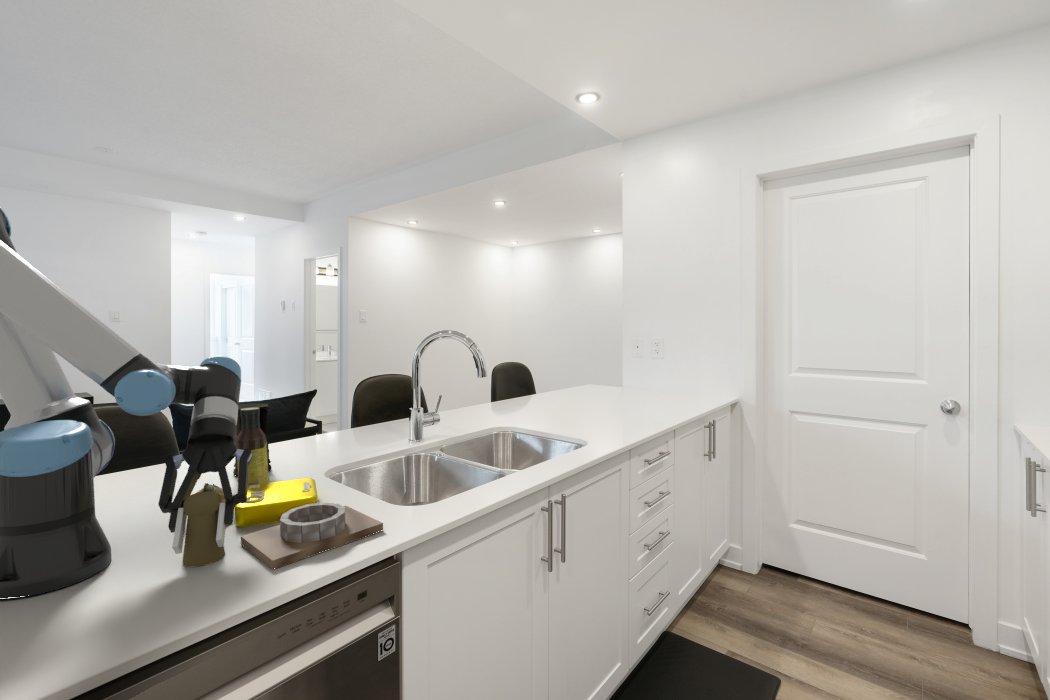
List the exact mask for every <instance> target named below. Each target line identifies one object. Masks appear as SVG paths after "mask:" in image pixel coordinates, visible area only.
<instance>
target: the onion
mask: <svg viewBox="0 0 1050 700" xmlns="http://www.w3.org/2000/svg"><path fill="white" fill-rule="evenodd" d="M207 491H211V492H215V493H217V494H218V495H219V497H220V503H225V497H224V493H223V489H222V487H220V486H218V485H215V484H214V483H212V484H209V483H206V482H205V483H204V485H203V487H202V488H201V489H200V490H198V491H197V492H196V493H199V492H207ZM217 515H218V516H219V508H218V510H217Z"/></svg>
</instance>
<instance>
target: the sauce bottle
mask: <svg viewBox="0 0 1050 700" xmlns="http://www.w3.org/2000/svg"><path fill="white" fill-rule="evenodd" d="M259 415H260V408H244V409H241V410H240V416H241V419H242V426H241V427H242V430H241V432H240V433H239V435H238V437H237V449H241V450H244V449H246V448H250V449H251V452H252V459H251V462H250V464H249V466H248V485H256V484H264V483H270V475H269V473H270V472H268V455H267V440H266V436H265V434H264V432H263V431H262V430H261V428H260V418H259ZM237 464H238V476H239V461H238V459H237ZM238 476H237V477H238Z"/></svg>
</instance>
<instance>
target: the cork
mask: <svg viewBox="0 0 1050 700" xmlns="http://www.w3.org/2000/svg"><path fill="white" fill-rule="evenodd" d="M219 506H220V497H219V495H218V494H217V493H215V492H211V491H207V492H199V493H197V492H195V493H194V494H193V493H191V495H190V496H189V497H187V498H186V500H185V501H184V504H183V509H184V512H185V514H186V515H187V519H186V526H185V535H184V544H183V545H184V546H183V554H182V565H183V566H185V567H189V566H190V567H191V566H197V567H202V566H201V565H203V566H207V565H210V563H211V564H213V563H216V562H218V561H219V559H220V560H222V559H223V557H225V556H226V551H225V546H223V547H218V545H217V542H216V535H217V525H218V515H217V510H218V508H219ZM206 564H207V565H206Z"/></svg>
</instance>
